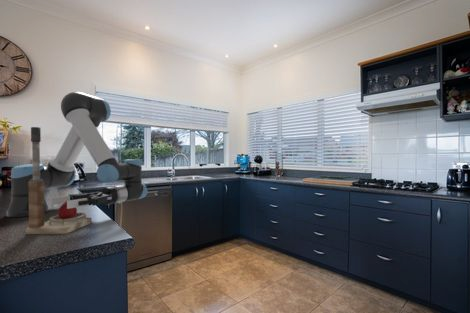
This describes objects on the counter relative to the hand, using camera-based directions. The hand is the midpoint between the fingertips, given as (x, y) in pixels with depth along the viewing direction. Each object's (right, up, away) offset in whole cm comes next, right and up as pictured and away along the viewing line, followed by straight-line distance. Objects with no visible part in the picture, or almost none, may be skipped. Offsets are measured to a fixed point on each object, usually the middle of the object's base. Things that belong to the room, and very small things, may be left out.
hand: (58, 203), depth 89 cm
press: (0, -9, +1) cm, 10 cm away
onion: (+2, -8, +3) cm, 8 cm away
